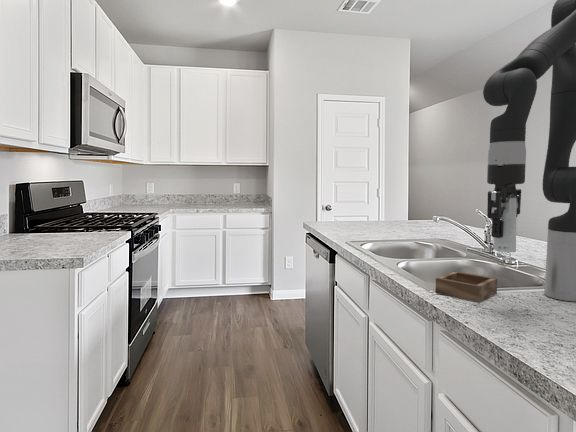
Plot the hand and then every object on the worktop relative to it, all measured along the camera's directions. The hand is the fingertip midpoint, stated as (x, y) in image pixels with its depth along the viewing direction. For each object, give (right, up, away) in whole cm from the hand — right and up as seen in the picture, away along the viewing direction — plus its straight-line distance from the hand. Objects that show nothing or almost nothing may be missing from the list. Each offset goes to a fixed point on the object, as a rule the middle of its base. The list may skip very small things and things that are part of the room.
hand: (503, 235), depth 92 cm
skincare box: (0, -4, 0) cm, 4 cm away
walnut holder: (-2, -16, +15) cm, 22 cm away
